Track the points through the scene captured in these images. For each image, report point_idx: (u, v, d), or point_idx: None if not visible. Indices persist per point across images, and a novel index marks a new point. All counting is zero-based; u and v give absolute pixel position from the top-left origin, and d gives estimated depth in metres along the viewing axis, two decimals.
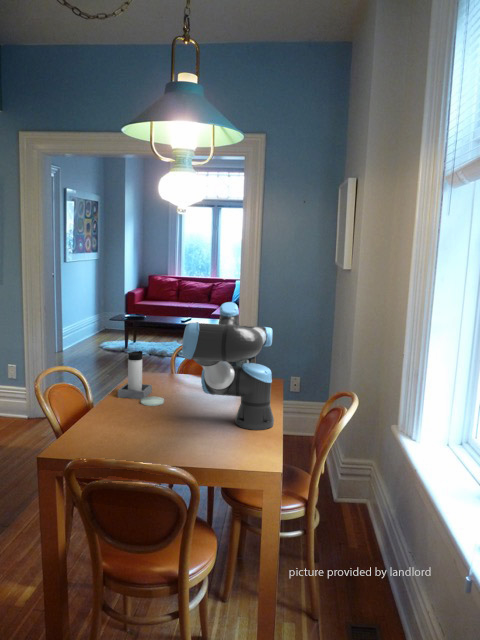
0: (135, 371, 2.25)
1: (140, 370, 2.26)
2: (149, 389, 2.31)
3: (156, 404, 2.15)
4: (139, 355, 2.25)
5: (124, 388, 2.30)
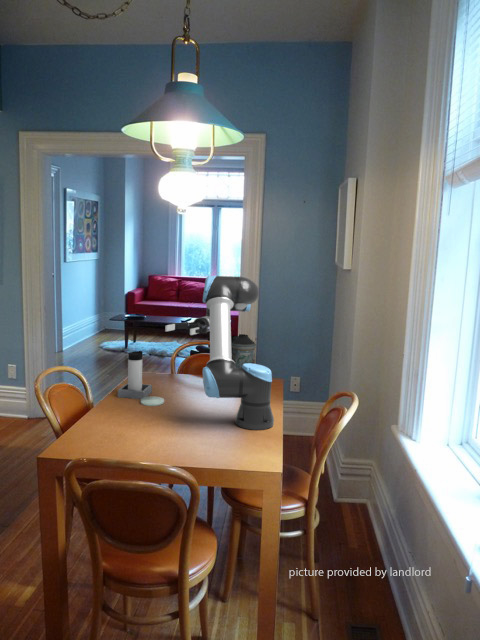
0: (135, 371, 2.25)
1: (140, 370, 2.26)
2: (149, 389, 2.31)
3: (156, 404, 2.15)
4: (139, 355, 2.25)
5: (124, 388, 2.30)
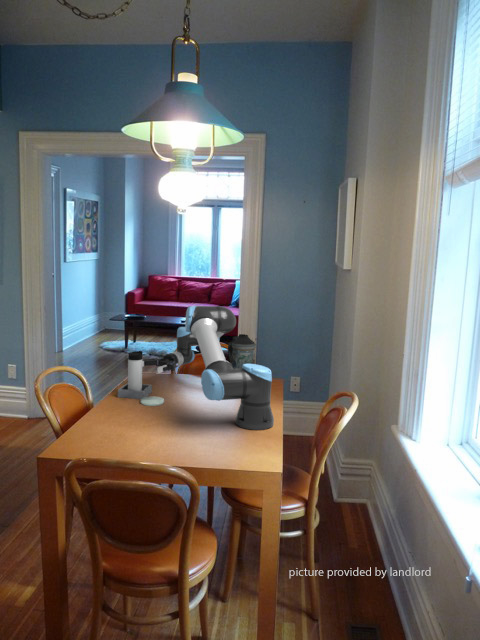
0: (135, 371, 2.25)
1: (140, 370, 2.26)
2: (149, 389, 2.31)
3: (156, 404, 2.15)
4: (139, 355, 2.25)
5: (124, 388, 2.30)
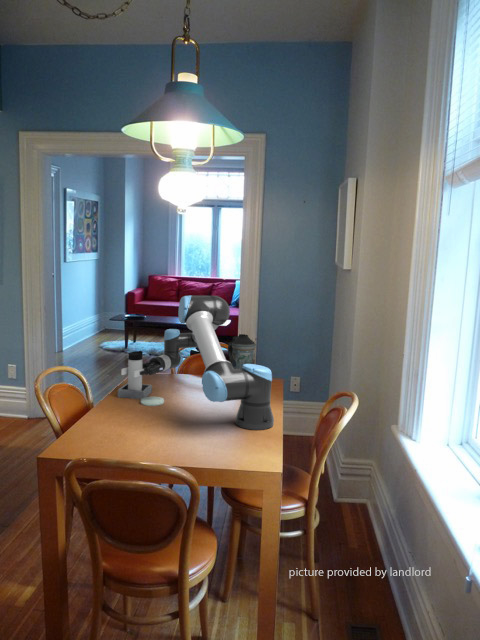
0: None
1: None
2: (149, 389, 2.31)
3: (156, 404, 2.15)
4: (139, 355, 2.25)
5: (124, 388, 2.30)
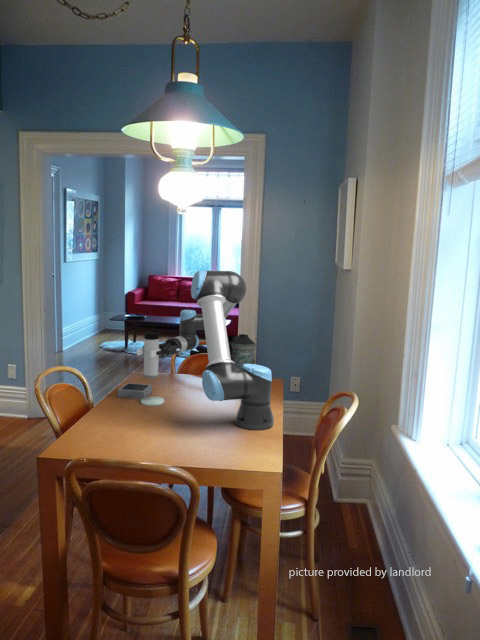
0: None
1: None
2: (149, 389, 2.31)
3: (156, 404, 2.15)
4: (156, 334, 2.14)
5: (124, 388, 2.30)
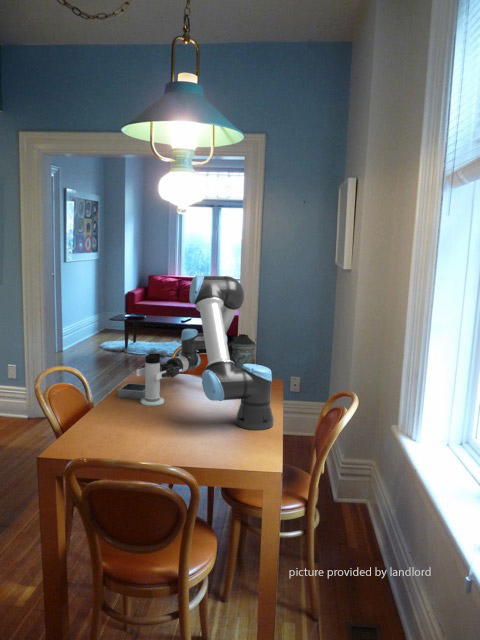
0: (153, 375, 2.15)
1: None
2: None
3: (156, 404, 2.15)
4: (157, 358, 2.15)
5: (124, 388, 2.30)
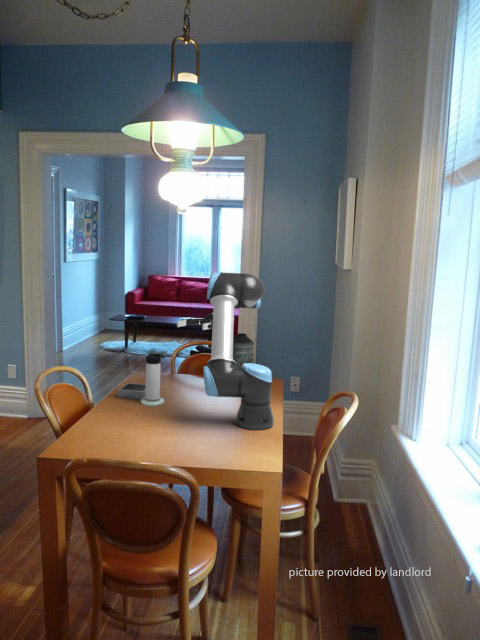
0: (153, 375, 2.14)
1: (158, 374, 2.16)
2: None
3: (156, 404, 2.15)
4: (157, 358, 2.14)
5: (124, 388, 2.30)
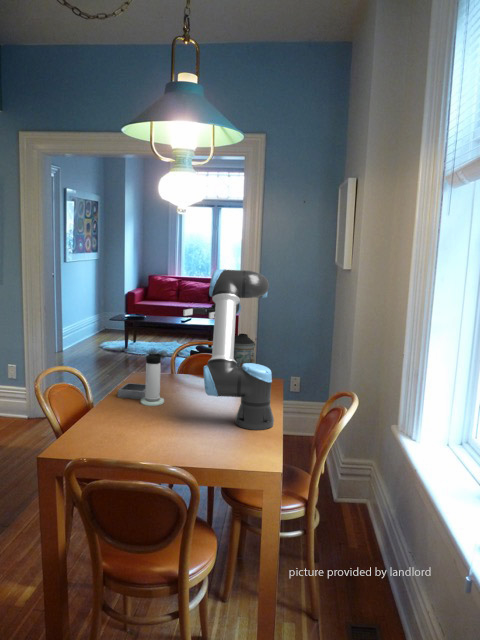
0: (153, 375, 2.14)
1: (158, 374, 2.16)
2: None
3: (156, 404, 2.15)
4: (157, 358, 2.14)
5: (124, 388, 2.30)
